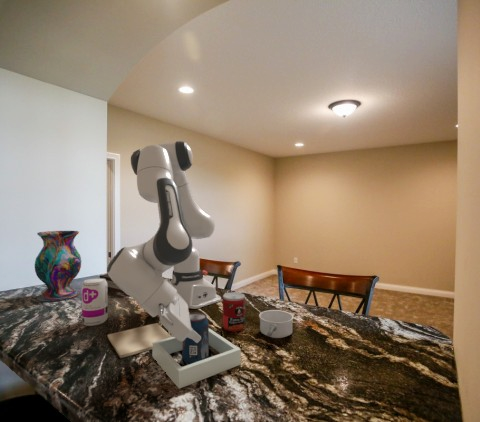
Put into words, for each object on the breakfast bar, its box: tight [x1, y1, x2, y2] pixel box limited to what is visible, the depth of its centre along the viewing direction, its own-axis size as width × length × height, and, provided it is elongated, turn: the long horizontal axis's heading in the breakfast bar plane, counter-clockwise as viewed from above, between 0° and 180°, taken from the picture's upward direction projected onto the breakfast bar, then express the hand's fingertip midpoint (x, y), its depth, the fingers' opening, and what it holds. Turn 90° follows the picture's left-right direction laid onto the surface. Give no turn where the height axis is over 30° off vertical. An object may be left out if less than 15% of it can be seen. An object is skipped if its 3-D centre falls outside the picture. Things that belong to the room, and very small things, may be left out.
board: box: [107, 322, 173, 359], centre depth 89 cm, size 16×16×1 cm
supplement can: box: [81, 277, 109, 327], centre depth 103 cm, size 8×8×15 cm
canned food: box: [222, 291, 246, 332], centre depth 99 cm, size 8×8×11 cm
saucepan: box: [258, 309, 294, 339], centre depth 91 cm, size 12×20×6 cm, turn 165°
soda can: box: [181, 311, 210, 365], centre depth 77 cm, size 7×7×12 cm
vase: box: [34, 230, 82, 302], centre depth 133 cm, size 18×18×30 cm
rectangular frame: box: [151, 328, 242, 390], centre depth 77 cm, size 17×17×4 cm
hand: (197, 332), depth 77 cm, fingers closed on soda can, 7 cm apart
